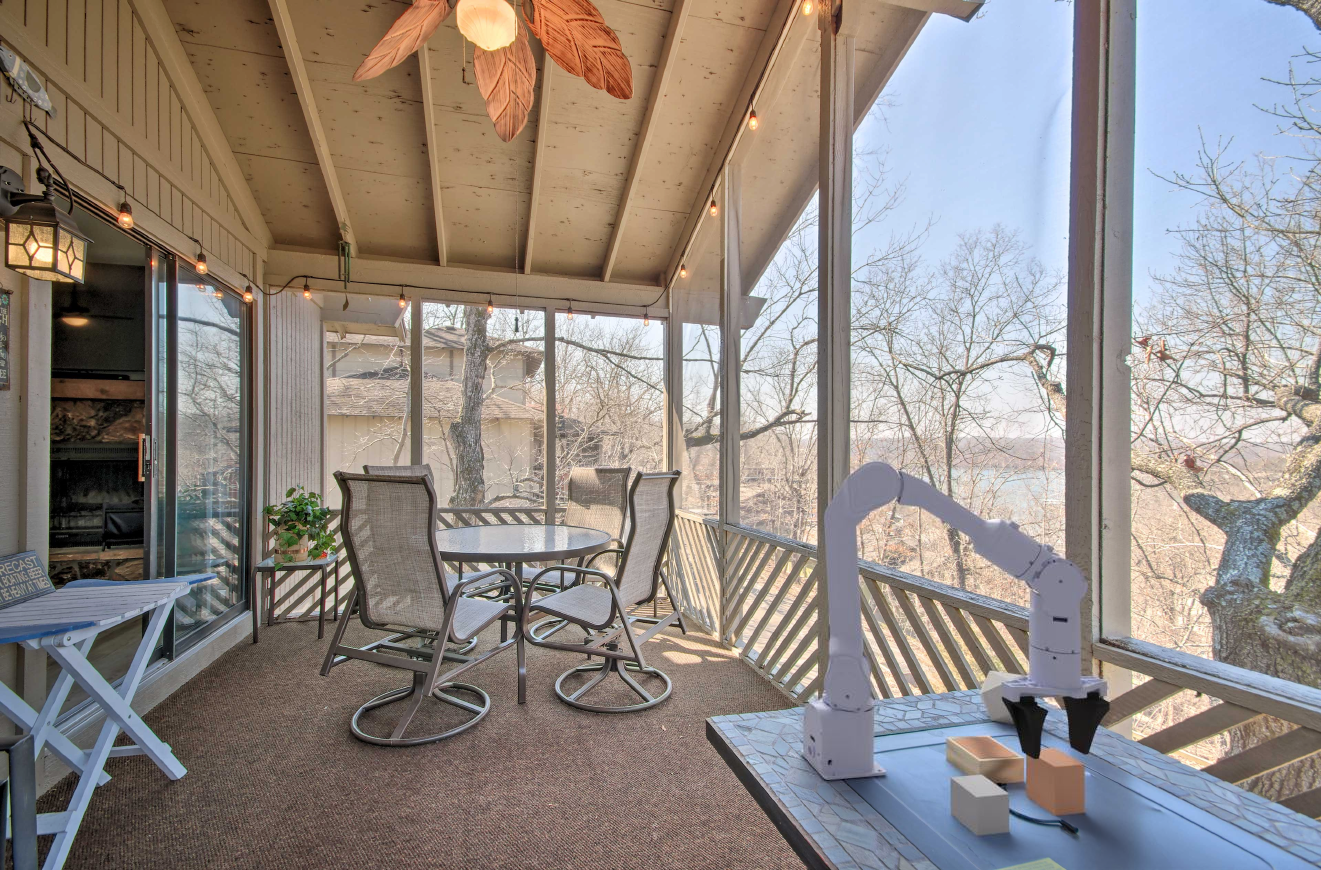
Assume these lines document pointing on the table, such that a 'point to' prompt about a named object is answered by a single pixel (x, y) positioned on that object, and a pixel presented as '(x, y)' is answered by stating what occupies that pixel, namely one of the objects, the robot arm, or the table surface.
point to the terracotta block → (1056, 782)
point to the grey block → (979, 804)
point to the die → (997, 696)
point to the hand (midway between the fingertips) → (1055, 753)
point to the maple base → (985, 758)
